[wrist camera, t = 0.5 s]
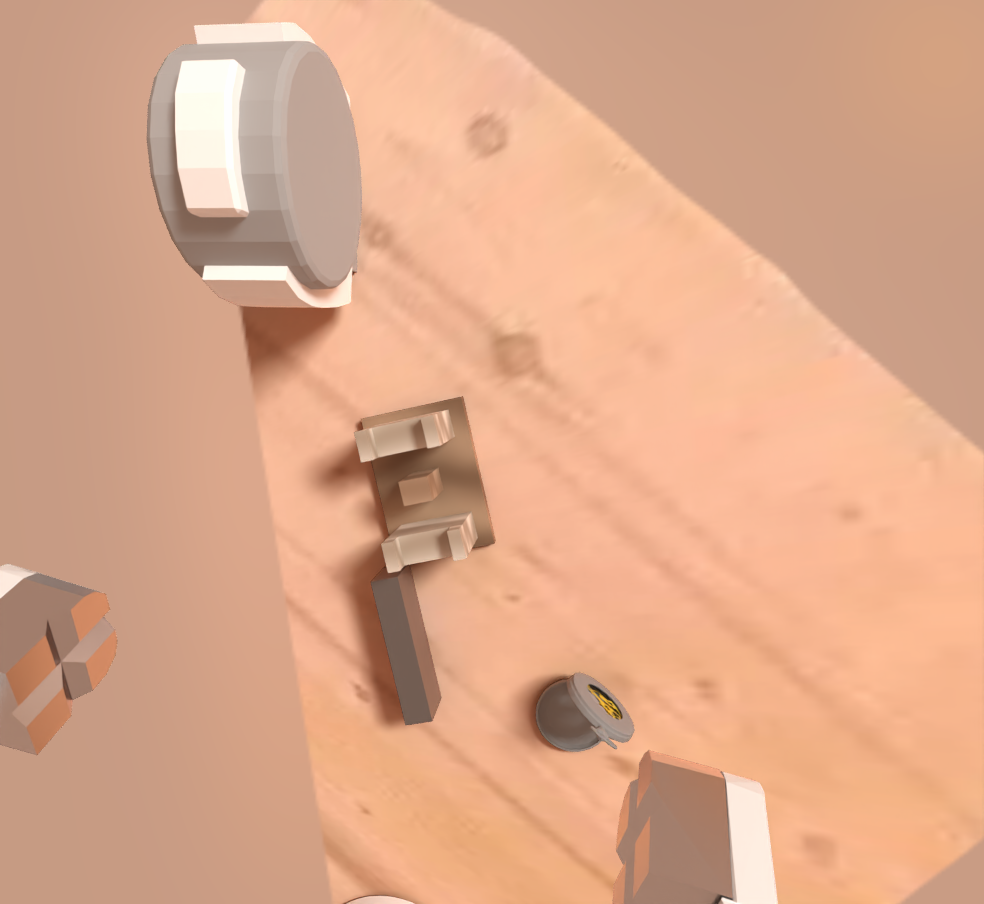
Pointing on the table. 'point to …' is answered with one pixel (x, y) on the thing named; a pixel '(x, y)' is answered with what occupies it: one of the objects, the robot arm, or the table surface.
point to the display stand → (427, 482)
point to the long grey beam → (407, 644)
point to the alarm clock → (258, 165)
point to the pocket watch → (581, 715)
